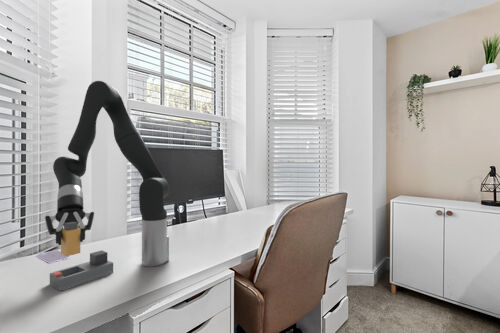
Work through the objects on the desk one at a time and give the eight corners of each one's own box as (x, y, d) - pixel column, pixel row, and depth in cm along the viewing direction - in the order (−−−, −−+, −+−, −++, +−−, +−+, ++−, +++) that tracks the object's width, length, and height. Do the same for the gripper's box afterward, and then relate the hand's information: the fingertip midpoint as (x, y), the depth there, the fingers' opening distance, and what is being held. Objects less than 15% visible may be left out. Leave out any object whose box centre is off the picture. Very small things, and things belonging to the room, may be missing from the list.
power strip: (101, 267, 94) (101, 248, 94) (113, 272, 89) (113, 252, 89) (49, 284, 81) (49, 262, 81) (59, 291, 76) (59, 268, 76)
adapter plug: (74, 250, 85) (75, 220, 85) (80, 252, 83) (80, 222, 83) (60, 253, 82) (61, 223, 81) (66, 256, 79) (66, 224, 79)
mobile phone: (48, 262, 97) (35, 254, 106) (48, 264, 97) (35, 256, 106) (71, 256, 103) (57, 249, 112) (71, 258, 103) (57, 251, 112)
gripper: (44, 194, 84) (41, 239, 74) (94, 192, 92) (97, 232, 83) (45, 208, 88) (42, 252, 78) (93, 204, 97) (96, 244, 87)
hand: (71, 242), depth 81 cm, fingers closed on adapter plug, 5 cm apart
